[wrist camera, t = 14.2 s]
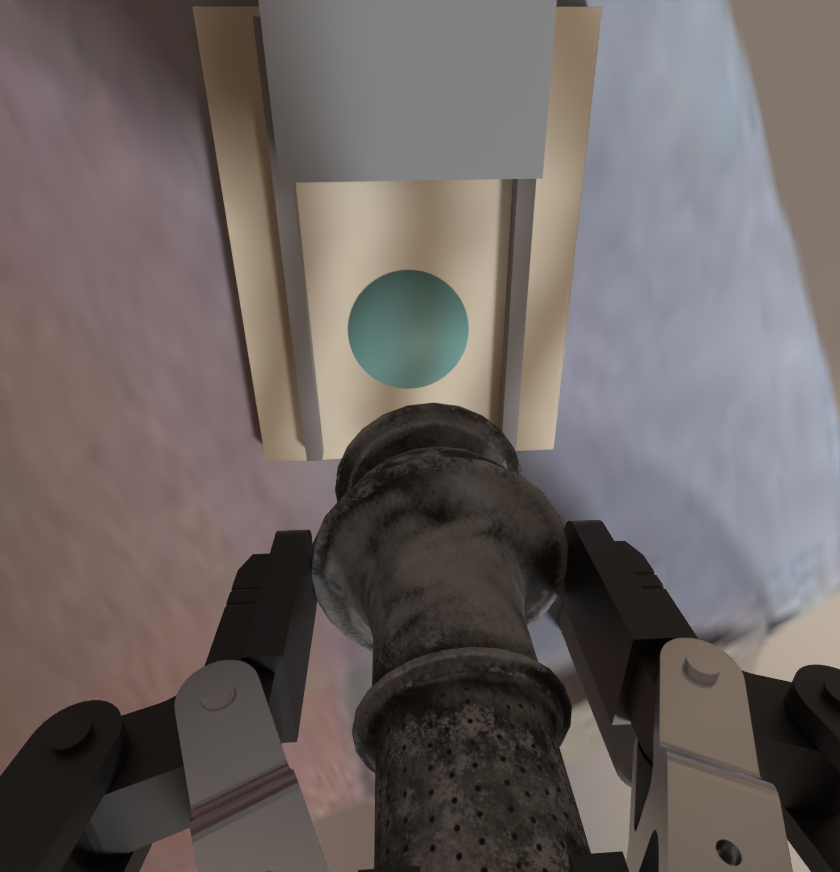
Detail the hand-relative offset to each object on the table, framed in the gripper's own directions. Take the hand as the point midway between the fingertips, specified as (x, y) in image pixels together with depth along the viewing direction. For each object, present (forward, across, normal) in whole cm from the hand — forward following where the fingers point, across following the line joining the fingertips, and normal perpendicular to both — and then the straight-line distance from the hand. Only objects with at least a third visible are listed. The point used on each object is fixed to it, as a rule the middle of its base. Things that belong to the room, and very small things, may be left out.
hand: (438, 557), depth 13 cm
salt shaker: (+3, 0, 0) cm, 3 cm away
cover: (+16, 0, -12) cm, 20 cm away
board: (+18, 0, -4) cm, 18 cm away
